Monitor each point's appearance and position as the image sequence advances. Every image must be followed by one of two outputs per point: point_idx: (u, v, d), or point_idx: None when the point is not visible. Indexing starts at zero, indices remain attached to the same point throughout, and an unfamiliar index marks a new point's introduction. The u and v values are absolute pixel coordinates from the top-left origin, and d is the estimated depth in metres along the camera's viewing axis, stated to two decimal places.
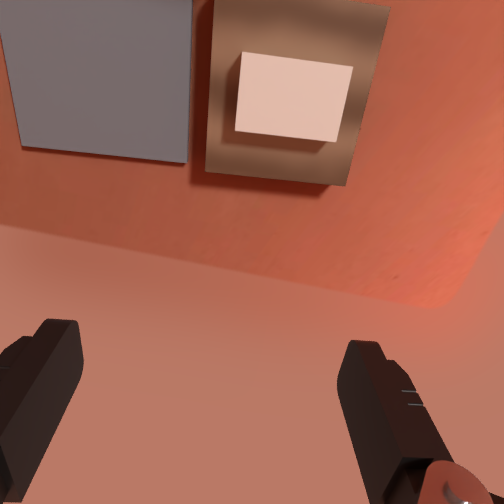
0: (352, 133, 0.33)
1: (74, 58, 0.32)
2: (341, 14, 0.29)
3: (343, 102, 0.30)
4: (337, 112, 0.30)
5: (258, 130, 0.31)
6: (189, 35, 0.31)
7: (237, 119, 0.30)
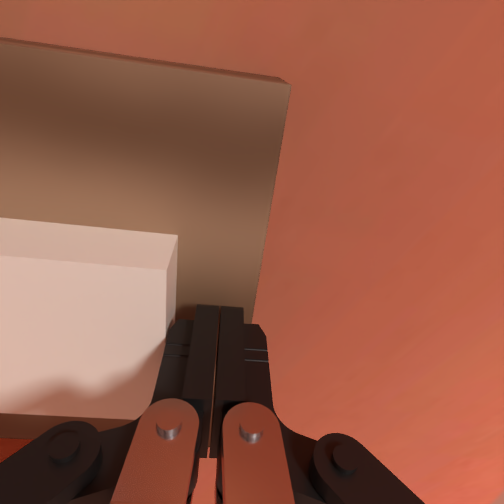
0: None
1: None
2: (134, 104, 0.09)
3: (160, 348, 0.10)
4: (149, 368, 0.11)
5: None
6: None
7: None
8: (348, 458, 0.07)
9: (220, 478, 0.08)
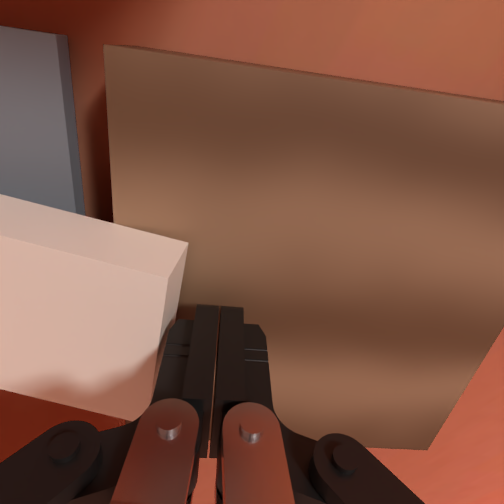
0: (459, 373, 0.15)
1: None
2: (483, 140, 0.10)
3: (152, 353, 0.10)
4: (139, 370, 0.11)
5: None
6: (67, 166, 0.12)
7: None
8: (348, 458, 0.07)
9: (220, 478, 0.08)
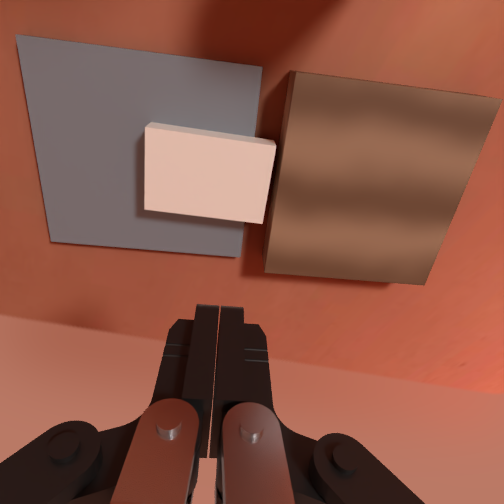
0: (439, 231, 0.28)
1: (116, 151, 0.27)
2: (442, 107, 0.24)
3: (267, 183, 0.26)
4: (261, 193, 0.27)
5: (171, 209, 0.27)
6: (254, 125, 0.26)
7: (146, 197, 0.26)
8: (348, 458, 0.07)
9: (220, 478, 0.08)
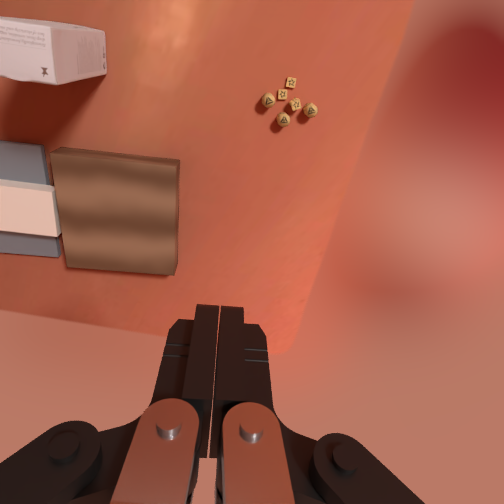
0: (169, 241, 0.46)
1: None
2: (142, 171, 0.41)
3: (53, 212, 0.44)
4: (51, 218, 0.44)
5: None
6: (44, 178, 0.44)
7: None
8: (348, 458, 0.07)
9: (220, 478, 0.08)
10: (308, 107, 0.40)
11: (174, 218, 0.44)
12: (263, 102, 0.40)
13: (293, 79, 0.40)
